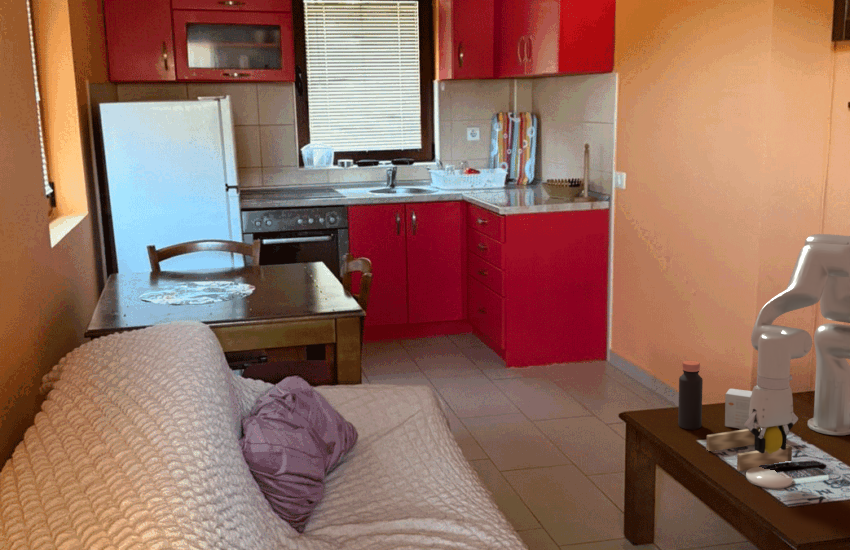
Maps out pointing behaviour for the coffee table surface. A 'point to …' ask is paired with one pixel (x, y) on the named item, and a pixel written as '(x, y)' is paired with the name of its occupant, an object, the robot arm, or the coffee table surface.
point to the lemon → (772, 439)
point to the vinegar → (690, 396)
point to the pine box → (747, 458)
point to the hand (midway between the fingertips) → (770, 449)
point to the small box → (737, 408)
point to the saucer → (767, 478)
